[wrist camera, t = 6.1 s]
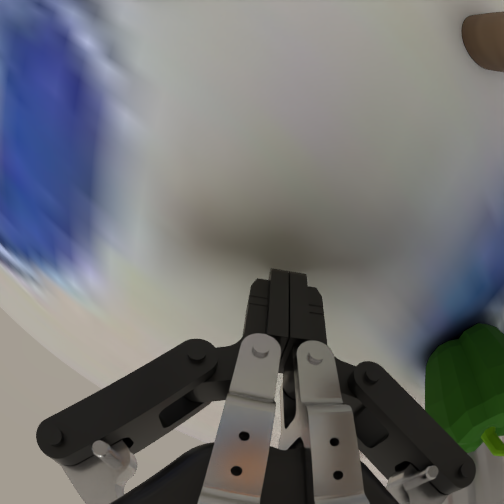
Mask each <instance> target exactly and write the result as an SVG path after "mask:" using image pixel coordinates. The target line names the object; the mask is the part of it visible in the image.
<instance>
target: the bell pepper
mask: <svg viewBox="0 0 504 504" xmlns="http://www.w3.org/2000/svg"><path fill="white" fill-rule="evenodd" d="M425 411H426V412H427V413H428V414H429V415H430V416H431V417H432V418H433V419H434V420H435V421H436V422H437V423H438V424H439V425H440V426H441V427H442V428H443V429H444V430H445V431H446V432H447V433H448V434H449V435H450V436H451V437H452V438H453V439H454V440H455V442H456V443H457V444H458V445H459V446H460V447H461V448H462V449H463V450H464V451H465V452H466V453H471V452H474V451H475V450H476V449H477V448H478V447H479V446H480V445H481V444H482V443H483V442H484V443H485V445H486V446H487V447H488V449H489V450H490V452H491V453H492V454H493V456H504V443H503V442H502V441H501V439H500V438H499V437H498V436H504V334H503V333H502V332H501V331H500V330H499V329H497V328H496V327H494V326H491V325H488V324H480V323H478V324H476V325H474V326H473V327H471V328H469V329H467V330H466V331H464V332H463V334H462V335H461V336H460V338H459V339H456V340H451V341H448V342H446V343H444V344H442V345H440V346H438V347H437V349H436V350H435V351H434V352H433V354H432V355H431V356H430V357H429V360H428V362H427V365H426V375H425Z"/></svg>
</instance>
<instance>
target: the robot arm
mask: <svg viewBox="0 0 504 504" xmlns="http://www.w3.org/2000/svg"><path fill="white" fill-rule="evenodd" d="M278 373H283V383H282V385H281V387H280V411H281V435H280V439H279V446H278V449H277V448H274V447H271V446H270V441H271V435H272V429H273V423H274V416H275V409H276V402H274V398H275V391H276V384H277V377H278ZM220 400H226V401H225V405H224V409H223V413H222V416H221V420H220V424H219V428H218V432H217V435H216V439H215V442H213V443H207V444H203V445H200V446H197V447H195V448H192V449H191V450H189V451H187V452H185V453H184V454H182V455H181V456H180V457H178V458H177V459H176V460H174V461H173V462H172V463H170V464H169V465H168V466H166V467H165V468H164V469H162V470H161V471H159V472H158V473H156V474H155V475H153V476H152V477H150V478H149V479H148V480H146V481H145V482H143V483H142V484H140V485H139V486H137V487H135V488H134V489H132V490H131V491H129V492H128V493H126V494H124V486H125V483H126V482H127V481H128V480H129V479H130V478H131V477H132V476H133V475H134V474H135V472H136V470H137V460H136V458H135V455H134V454H135V453H137V452H139V451H140V450H142V449H144V448H145V447H147V446H148V445H150V444H151V443H153V442H155V441H156V440H158V439H159V438H161V437H162V436H164V435H165V434H167V433H168V432H170V431H171V430H173V429H174V428H176V427H177V426H179V425H180V424H182V423H183V422H185V421H186V420H188V419H189V418H190V417H192V416H193V415H195V414H196V413H198V412H199V411H200V410H202V409H203V408H205V407H206V406H207V405H209V404H210V403H211V402H212V401H220ZM498 437H499V438H500V439H501V441H502V442H503V443H504V436H498ZM36 438H37V443H38V445H39V447H40V449H41V450H42V451H43V453H45V454H46V455H47V456H49V457H50V458H52V459H53V460H55V461H56V462H57V463H58V464H60V465H61V466H62V468H63V470H64V471H65V473H66V475H67V476H68V478H69V479H70V481H71V483H72V484H73V486H74V487H75V489H76V490H77V492H78V493H79V495H80V496H81V498H82V499H83V500H84V501H85V503H86V504H504V456H493V454H492V453H491V452H490V450H489V449H488V447H487V446H486V445H485V443H484V442H483V443H482V444H481V445H480V446H479V447H478V448H477V449H476V450H475V451H474V452H471V453H466V452H465V451H464V450H463V449H462V448H461V447H460V446H459V445H458V444H457V443H456V442H455V440H454V439H453V438H452V437H451V436H450V435H449V434H448V433H447V432H446V431H445V430H444V429H443V428H442V427H441V426H440V425H439V424H438V423H437V422H436V421H435V420H434V419H433V418H432V417H431V416H430V415H429V414H428V413H427V412H426V411H425V410H424V409H423V408H422V407H421V406H420V405H419V404H418V403H417V402H416V401H415V400H414V399H413V398H412V397H411V396H410V395H409V394H408V393H407V392H406V391H405V390H404V389H403V388H402V387H401V386H400V385H399V384H398V383H397V382H396V381H395V380H394V379H393V378H392V377H391V376H390V375H389V374H388V373H387V372H386V371H385V370H384V369H383V368H382V367H381V366H380V365H378V364H377V363H374V362H370V361H365V362H362V363H360V364H358V365H357V366H353V365H351V364H348V363H345V362H343V361H341V360H339V359H337V358H336V357H335V356H334V354H333V352H332V350H331V349H330V348H329V347H328V346H327V339H326V329H325V320H324V311H323V302H322V296H321V295H320V293H319V292H318V290H317V288H315V287H308V286H307V276H306V274H302V273H296V272H290V271H289V273H288V271H283V270H277V269H271V271H270V275H269V279H268V280H264V279H258V278H257V279H256V281H255V282H254V283H253V284H252V285H251V289H250V295H249V300H248V305H247V311H246V317H245V324H244V331H243V337H242V338H241V340H240V341H238V342H237V343H236V344H234V345H231V346H227V347H218V348H215V347H214V346H213V345H212V344H211V343H209V342H208V341H205V340H202V339H190V340H187V341H185V342H183V343H181V344H180V345H178V346H176V347H175V348H173V349H171V350H170V351H168V352H166V353H165V354H163V355H161V356H159V357H158V358H156V359H154V360H153V361H151V362H149V363H148V364H146V365H144V366H142V367H141V368H139V369H137V370H135V371H134V372H132V373H130V374H128V375H127V376H125V377H123V378H121V379H120V380H118V381H116V382H114V383H112V384H111V385H109V386H107V387H105V388H103V389H102V390H100V391H98V392H96V393H94V394H92V395H91V396H89V397H87V398H85V399H83V400H81V401H79V402H78V403H76V404H74V405H72V406H70V407H68V408H66V409H64V410H62V411H61V412H59V413H57V414H55V415H53V416H51V417H49V418H47V419H45V420H44V421H42V422H41V424H40V425H39V427H38V429H37V433H36ZM359 450H360V451H361V452H362V453H363V454H364V455H365V456H366V457H367V458H368V459H369V460H370V462H371V463H372V464H373V465H374V466H375V467H376V468H377V469H378V470H379V471H380V472H381V473H382V474H383V475H384V476H385V477H386V478H387V479H388V483H387V486H386V488H385V487H384V486H383V485H382V483H381V482H380V481H379V480H378V479H377V478H376V477H375V475H374V474H373V473H372V472H371V471H370V470H369V469H368V467H367V466H366V465H365V464H364V463H363V462H361V461H360V456H359Z"/></svg>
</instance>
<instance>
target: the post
mask: <svg viewBox="0 0 504 504" xmlns="http://www.w3.org/2000/svg"><path fill="white" fill-rule="evenodd" d="M462 37H463V41H464V44H465V47H466V49H467V51H468V53H469V55H470V56H471V57H472V59H473V60H474V61H475V62H476V63H477V64H478V65H479V66H481V67H483V68H485V69H488V70H494V71H500V72H504V12H496V13H486V14H478V15H472V16H469V17H467V18H466V19H465V21H464V22H463V26H462Z"/></svg>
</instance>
